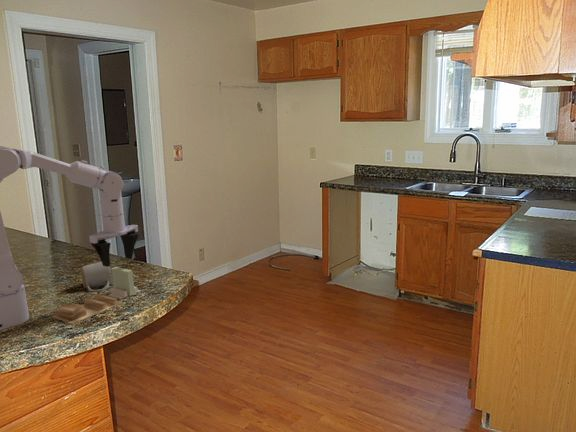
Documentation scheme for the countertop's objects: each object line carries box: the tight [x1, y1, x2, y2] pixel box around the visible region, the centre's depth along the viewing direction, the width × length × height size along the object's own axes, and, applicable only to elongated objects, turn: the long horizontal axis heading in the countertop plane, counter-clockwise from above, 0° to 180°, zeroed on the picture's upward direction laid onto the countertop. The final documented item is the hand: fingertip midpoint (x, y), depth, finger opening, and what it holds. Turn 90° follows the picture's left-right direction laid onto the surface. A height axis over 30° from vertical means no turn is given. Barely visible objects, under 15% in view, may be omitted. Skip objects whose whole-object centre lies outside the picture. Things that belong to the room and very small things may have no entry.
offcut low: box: [56, 310, 87, 321], centre depth 119 cm, size 4×6×1 cm, turn 58°
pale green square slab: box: [110, 266, 136, 297], centre depth 133 cm, size 2×7×7 cm, turn 58°
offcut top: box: [57, 302, 84, 315], centre depth 119 cm, size 4×5×1 cm
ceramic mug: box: [80, 261, 113, 293], centre depth 140 cm, size 11×8×8 cm
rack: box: [50, 293, 123, 325], centre depth 123 cm, size 15×9×2 cm, turn 148°
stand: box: [107, 285, 142, 300], centre depth 134 cm, size 7×6×2 cm
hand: (117, 262), depth 131 cm, fingers open, 7 cm apart
